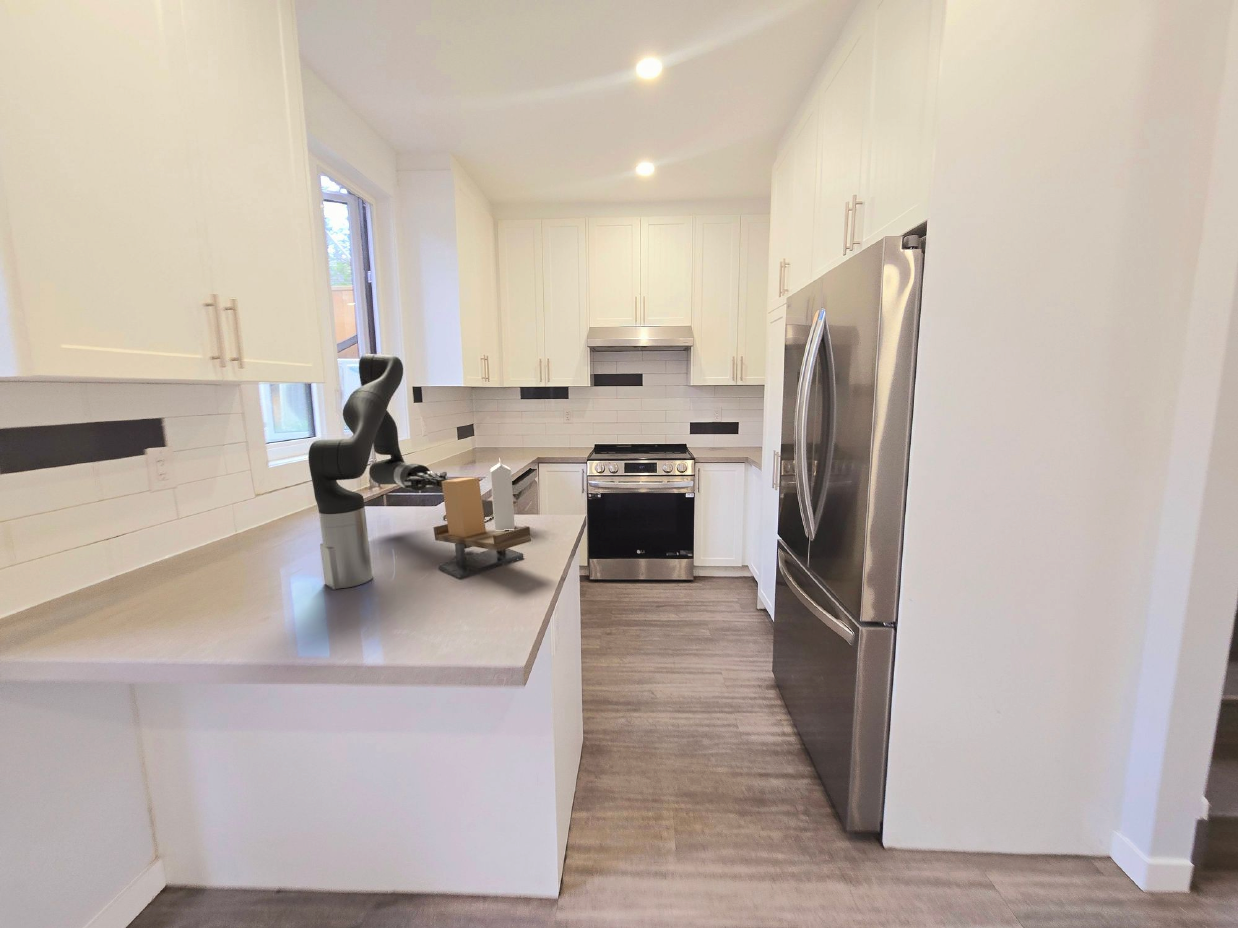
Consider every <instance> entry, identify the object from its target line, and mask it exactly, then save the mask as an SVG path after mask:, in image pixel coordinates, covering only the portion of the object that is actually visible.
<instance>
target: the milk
mask: <svg viewBox="0 0 1238 928" xmlns="http://www.w3.org/2000/svg"><path fill="white" fill-rule="evenodd" d="M498 460H499V461H498V463H497V464H495V465H494V466H492V467H491V468H490V470H489V472H490V483H491V497H492V499H491V500H493V514H494V518H493V526H494V531H495V530H504V529H514V528H515V529H516V526H515V513H514V512H515V511H514V510H515V509H514V508H515V507H514V508H513V501H514V495H513V481H512V479H513V478H512V469H511V468H510V467H509V466H507V465H506V464H503V463H502V462H501V459H500V457H499V458H498Z"/></svg>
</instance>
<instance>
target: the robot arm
mask: <svg viewBox="0 0 1238 928" xmlns="http://www.w3.org/2000/svg"><path fill="white" fill-rule="evenodd" d="M402 362H403V361H402V360H401V359H400V358H399V357H398V356H395V355H391V354H376V353H373V354H372V353H365V354H362V355H361V356H360V358H359V362H358V374H359V375H358V376H359V380H360V384H361V386H360V387H358V388H357V389H355V390H354V391H353V392H352V393H351V394H350V395H349V397H348V399H347V400H346V402H345V404H344V406H343V409H342V417H343V421H344V423H345V425H346V426H347V428H348V429H349V430H350V432H351V433H352V436H351V437H348V438H337V439H335V438H333V439H319V440H318V439H317V440H315V441H313V442H312V443H311V445H310V446H309V448H308V449H309V450H308V457H307V458H308V466H309V467H308V468H309V473H310V477H311V483H312V486H313V493H314V500H315V503H316V505H317V508H318V516H319V523H320V532H321V541H322V543H321V542H320V545H319V547H320V554H321V555H320V556H321V563H322V570H323V578H324V579H323V580H324V584H325V585H326V586H327V587H329V588H331V589H332V590H337V589H345V588H352V587H355V586H360V585H362V584H365V583H368V582H369V581H370V580H371V579H373V569H372V561H371V559H372V558H371V552H370V541H369V533H368V525H367V524H368V523H367V518H366V517H367V514H366V505H365V499H364V495H362V494H361V493H359V492H355V491H352V490H350V489H347V488H345V487H343V486H341V485H340V484H339V483H338V481H344V480H345V481H346V480H355V479H358V478H361V477H362V476H363V475H364V474H365V472H366V469H367V467H368V463H369V461H370V456H371V453H372V449H373V450H374V452H375V453H376V454H377V455H381V456H390V458H386V459H383V460H378V461H375V462H373V463H372V464H371V465H370V467H369V470H368V474H369V476H370V478H371V479H372V481H373V482H375V483H376V484H378V485H382V486H383V485H385V486H386V485H397V486H400V487H402V488H405V489H408V490H411V491H416V492H421V491H424V490H426V489H427V488H433V487H435V488H442V481H447V480H448V475H447V474H448V473H447V471H442V472H440V473H439V474H438V473H436V472H432V471H431V470H430V469H429V467H427V466H425V465H423V464H418V463H414V462H406V461H405V460H404V456H403V455H402V452H401V449H400V445H399V435H398V434H399V433H398V426H397V423H396V421H395V420H394V418H393V416H392V415H391V413H390V412H389V411H388V410H387V409H388V407H389V404H390V401H391V399H392V397H393V396H394V395H395V393H396V391H397V390H398V389H399V386H400V385H401V382H402V379H403V376H404V365H403V363H402Z"/></svg>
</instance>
